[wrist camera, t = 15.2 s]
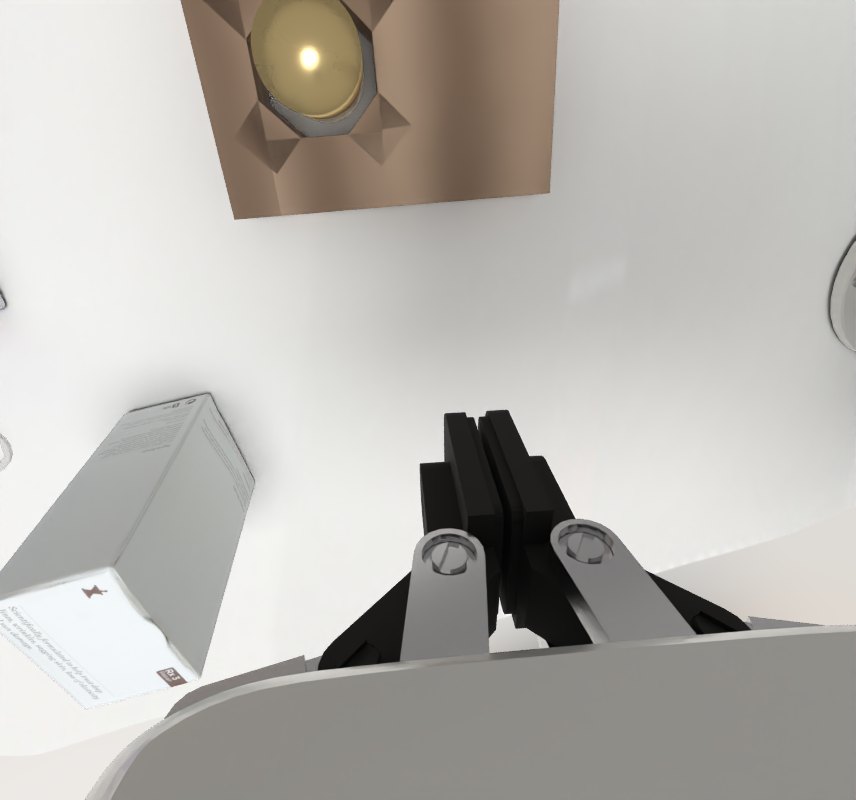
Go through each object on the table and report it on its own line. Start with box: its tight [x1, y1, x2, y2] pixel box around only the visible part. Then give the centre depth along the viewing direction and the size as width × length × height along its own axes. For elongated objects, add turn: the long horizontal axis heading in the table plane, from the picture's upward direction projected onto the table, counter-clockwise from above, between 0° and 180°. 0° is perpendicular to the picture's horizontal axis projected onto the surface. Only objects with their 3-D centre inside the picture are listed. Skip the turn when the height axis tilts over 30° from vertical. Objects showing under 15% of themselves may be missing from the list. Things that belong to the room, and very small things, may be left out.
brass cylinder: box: [251, 0, 364, 123], centre depth 21 cm, size 4×4×7 cm
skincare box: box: [0, 394, 255, 709], centre depth 27 cm, size 8×6×15 cm
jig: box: [181, 0, 559, 220], centre depth 23 cm, size 16×12×3 cm
